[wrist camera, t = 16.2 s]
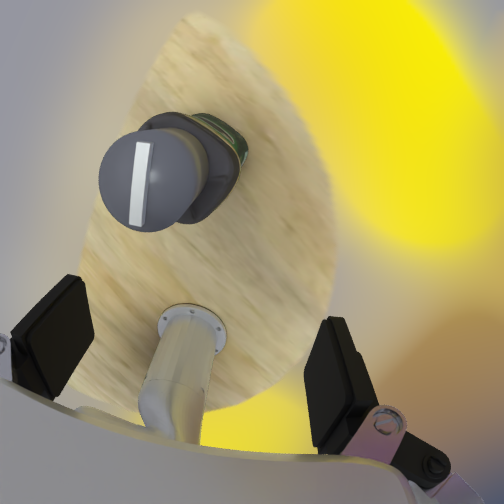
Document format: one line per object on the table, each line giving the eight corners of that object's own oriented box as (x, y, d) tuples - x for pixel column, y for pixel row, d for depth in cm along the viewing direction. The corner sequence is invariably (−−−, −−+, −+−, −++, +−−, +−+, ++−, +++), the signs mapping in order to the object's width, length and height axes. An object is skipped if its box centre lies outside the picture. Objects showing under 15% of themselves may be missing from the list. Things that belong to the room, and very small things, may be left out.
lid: (137, 123, 18) (98, 127, 13) (216, 134, 19) (199, 139, 14) (128, 199, 21) (92, 225, 16) (201, 214, 21) (182, 245, 16)
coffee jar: (167, 152, 37) (97, 181, 20) (199, 105, 34) (146, 93, 17) (223, 191, 39) (193, 249, 22) (258, 145, 36) (254, 167, 19)
